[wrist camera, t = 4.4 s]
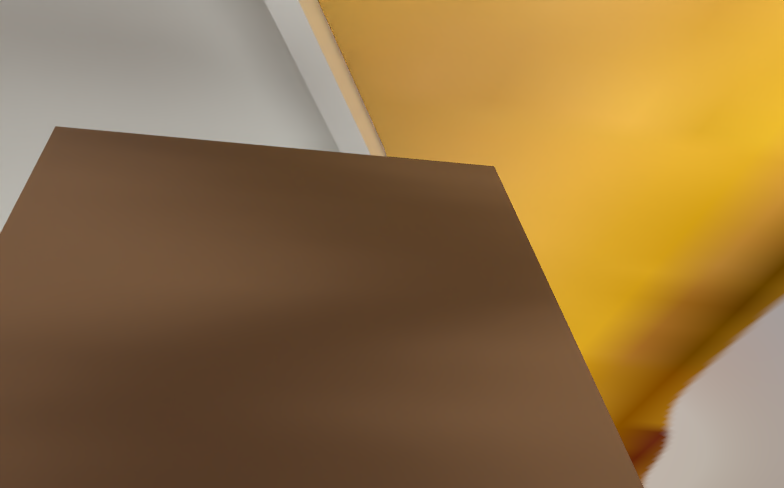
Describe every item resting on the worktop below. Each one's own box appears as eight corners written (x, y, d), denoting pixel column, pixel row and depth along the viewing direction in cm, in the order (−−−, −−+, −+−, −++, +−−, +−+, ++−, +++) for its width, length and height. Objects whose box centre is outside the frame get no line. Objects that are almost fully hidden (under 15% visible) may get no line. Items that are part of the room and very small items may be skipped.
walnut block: (494, 166, 8) (681, 570, 4) (412, 418, 11) (483, 791, 7) (55, 126, 7) (-198, 615, 3) (94, 417, 10) (-17, 851, 6)
